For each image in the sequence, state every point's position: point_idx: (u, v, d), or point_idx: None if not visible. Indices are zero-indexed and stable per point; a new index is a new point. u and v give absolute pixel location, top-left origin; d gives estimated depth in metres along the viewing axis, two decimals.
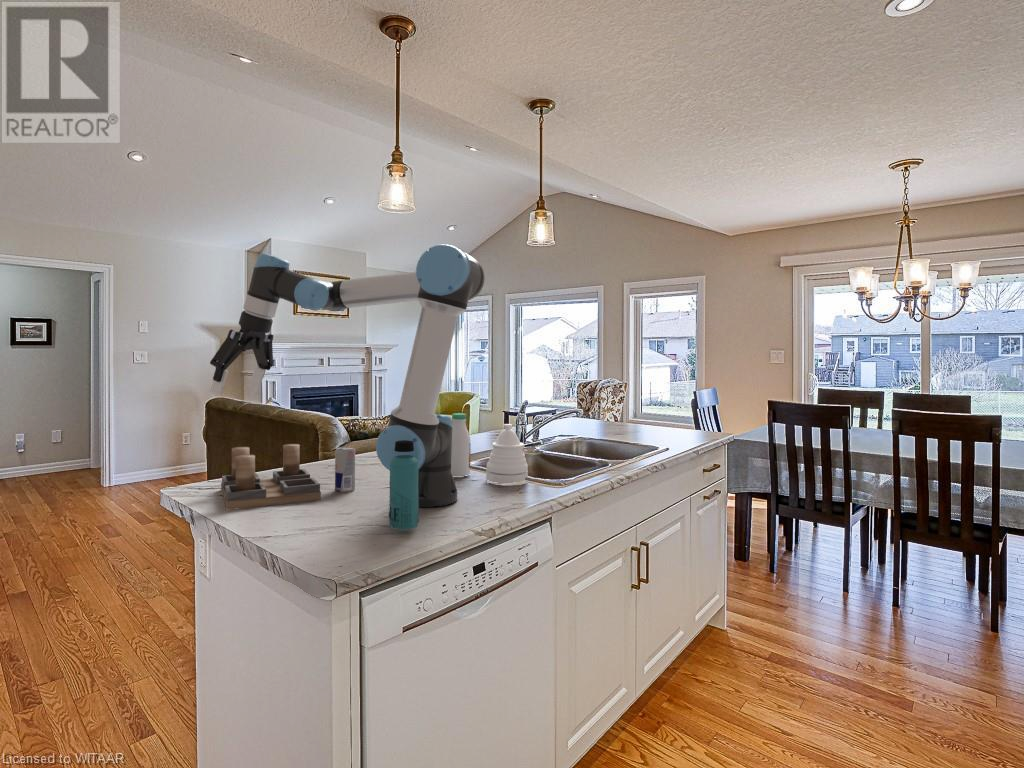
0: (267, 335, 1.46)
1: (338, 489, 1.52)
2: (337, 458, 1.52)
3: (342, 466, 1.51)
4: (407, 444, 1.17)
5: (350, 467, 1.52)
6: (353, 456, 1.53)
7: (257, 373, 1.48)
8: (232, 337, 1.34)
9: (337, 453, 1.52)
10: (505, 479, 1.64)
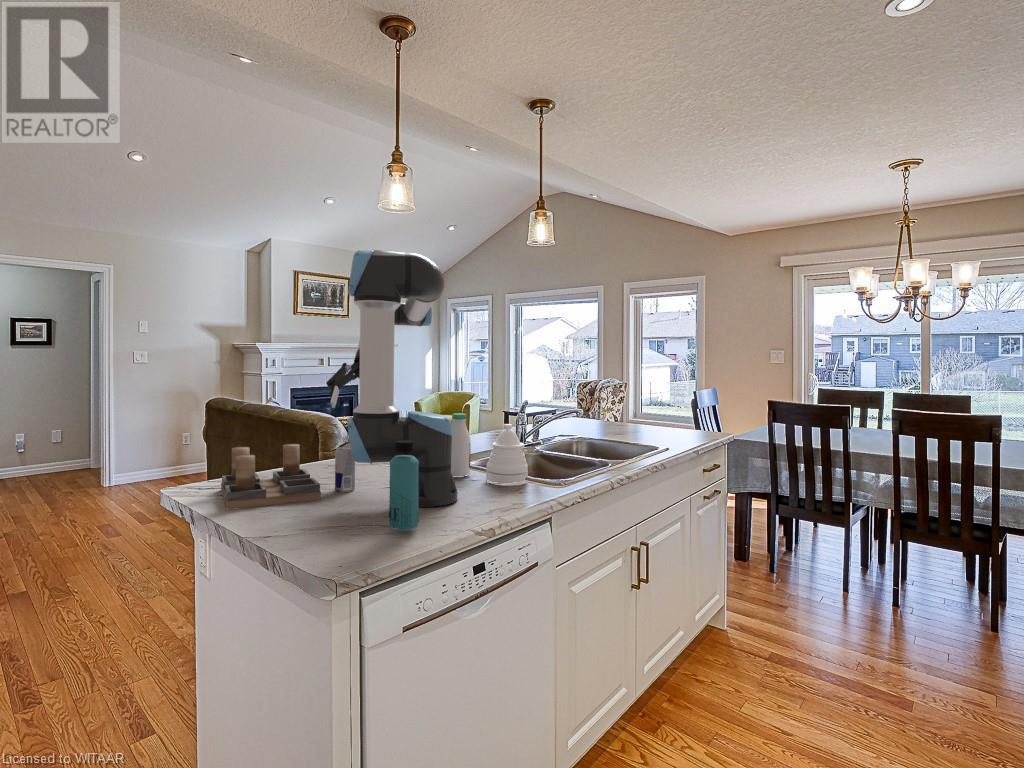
0: None
1: (338, 489, 1.52)
2: (337, 458, 1.52)
3: (342, 466, 1.51)
4: (407, 444, 1.17)
5: (350, 467, 1.52)
6: None
7: None
8: None
9: (337, 453, 1.52)
10: (505, 479, 1.64)
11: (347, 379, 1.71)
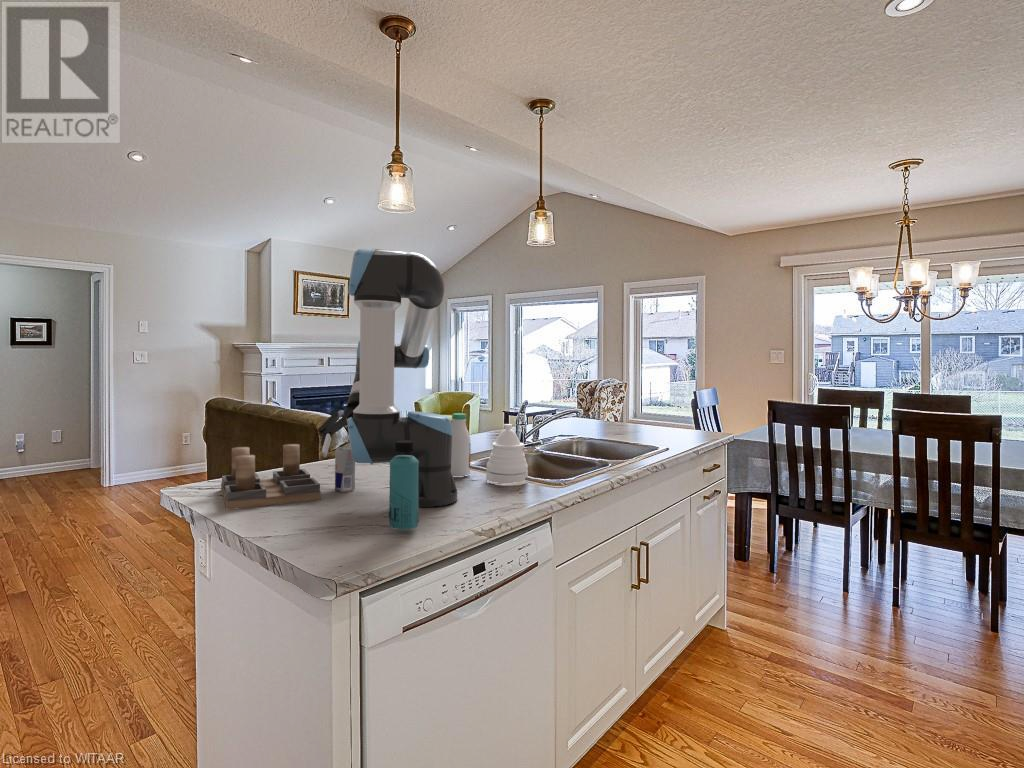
0: None
1: (338, 489, 1.52)
2: (337, 458, 1.52)
3: (342, 466, 1.51)
4: (407, 444, 1.17)
5: (350, 467, 1.52)
6: None
7: None
8: None
9: (337, 453, 1.52)
10: (505, 479, 1.64)
11: (339, 426, 1.64)
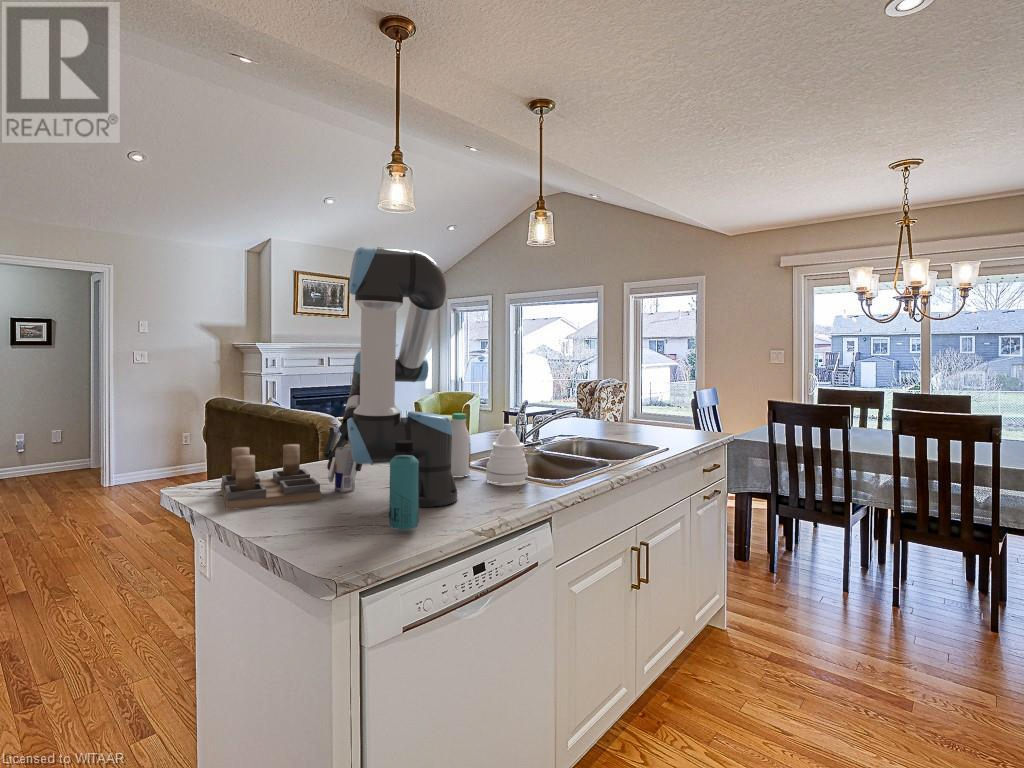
0: None
1: (338, 489, 1.52)
2: (337, 458, 1.52)
3: (342, 466, 1.51)
4: (407, 444, 1.17)
5: (350, 467, 1.52)
6: None
7: None
8: None
9: (337, 453, 1.52)
10: (505, 479, 1.64)
11: (341, 445, 1.58)
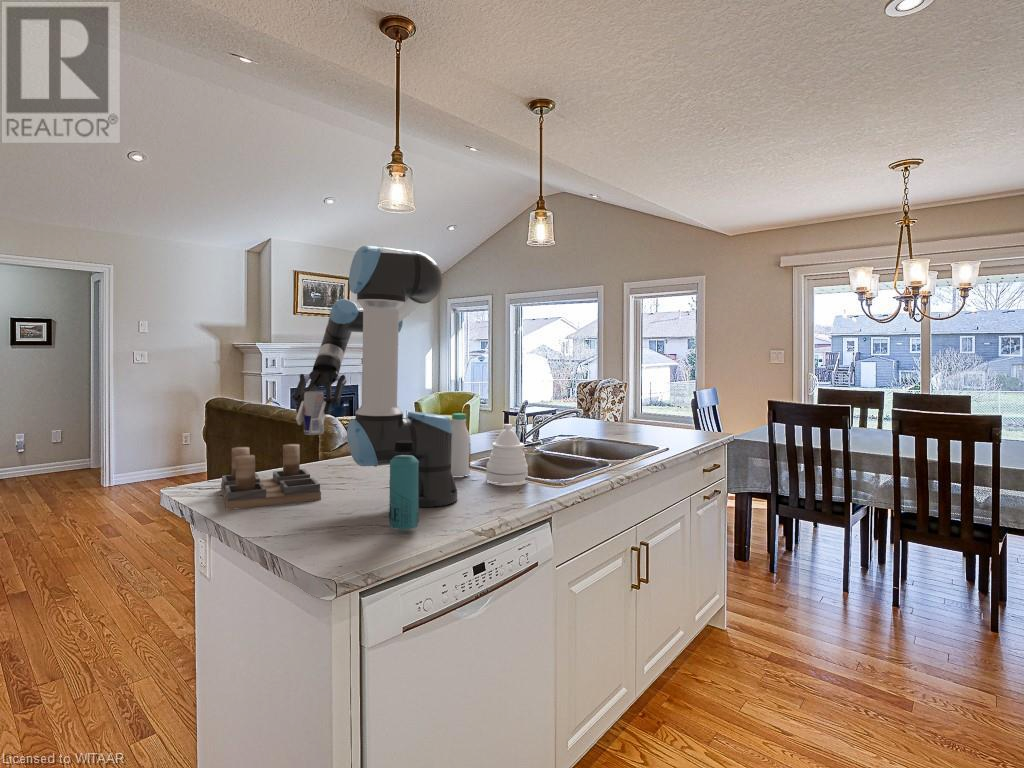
0: None
1: (306, 431, 1.54)
2: (305, 401, 1.54)
3: (310, 409, 1.54)
4: (407, 444, 1.17)
5: (319, 410, 1.55)
6: (321, 399, 1.55)
7: None
8: None
9: (305, 396, 1.54)
10: (505, 479, 1.64)
11: (311, 390, 1.60)
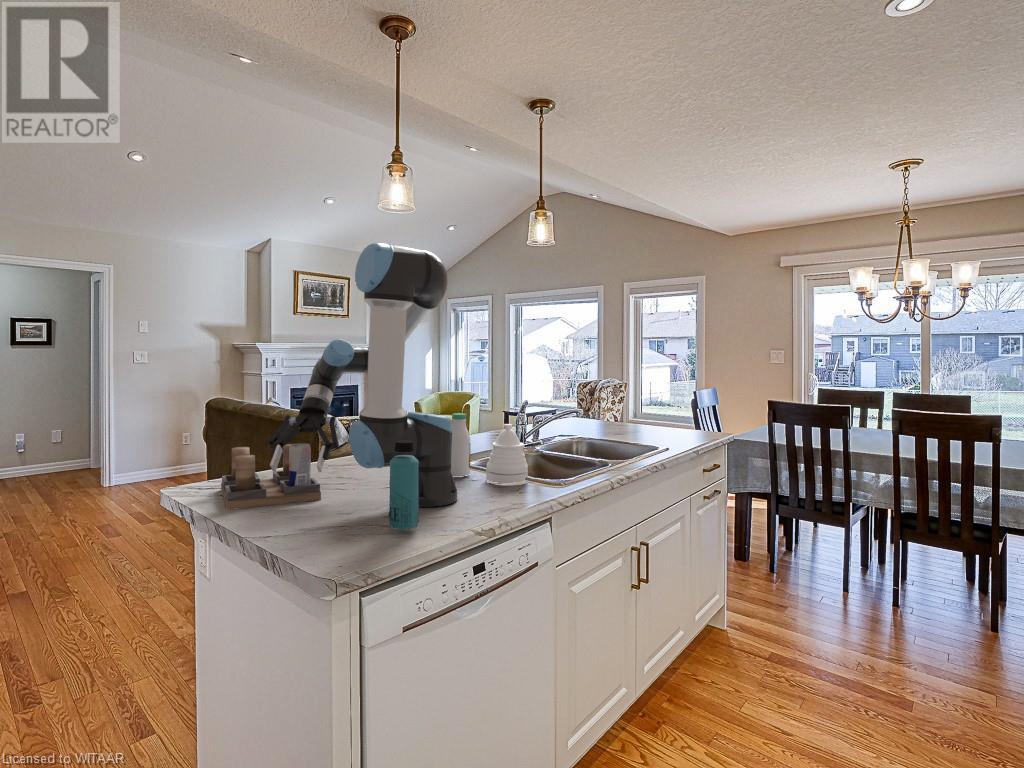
0: (330, 418, 1.53)
1: None
2: (291, 455, 1.43)
3: (295, 464, 1.43)
4: (407, 444, 1.17)
5: (305, 465, 1.44)
6: (308, 453, 1.45)
7: None
8: None
9: (291, 450, 1.43)
10: (505, 479, 1.64)
11: (291, 435, 1.49)
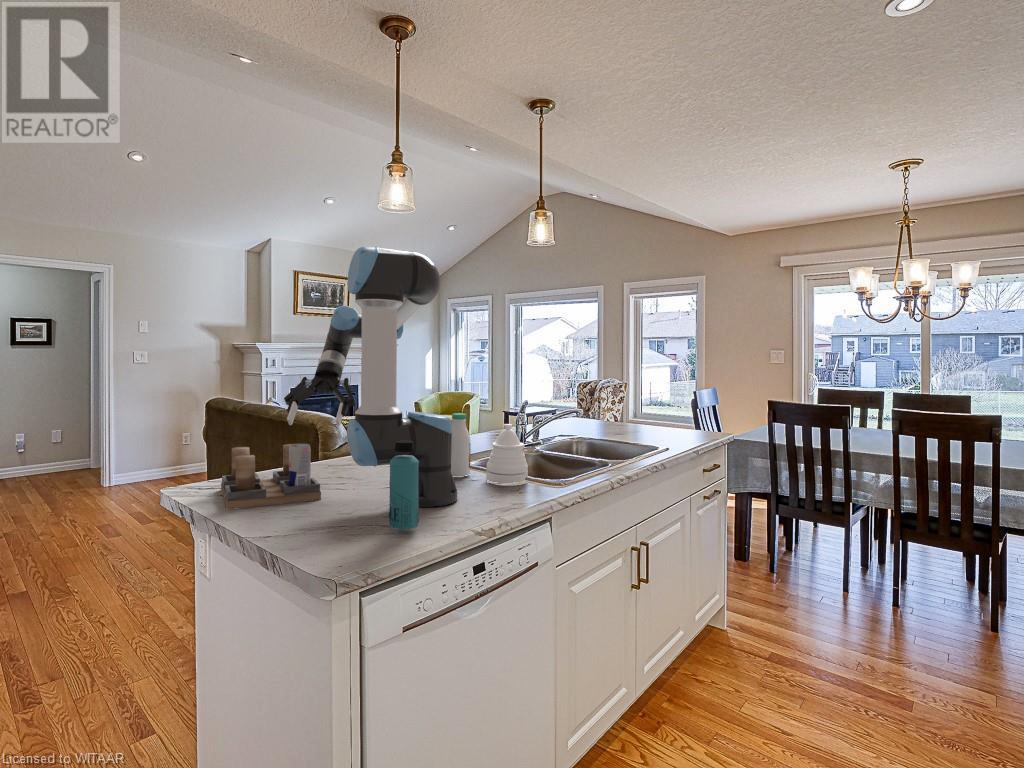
0: (343, 380, 1.66)
1: None
2: (290, 455, 1.43)
3: (295, 464, 1.43)
4: (407, 444, 1.17)
5: (305, 465, 1.44)
6: (308, 453, 1.44)
7: None
8: None
9: (290, 450, 1.43)
10: (505, 479, 1.64)
11: (306, 394, 1.62)
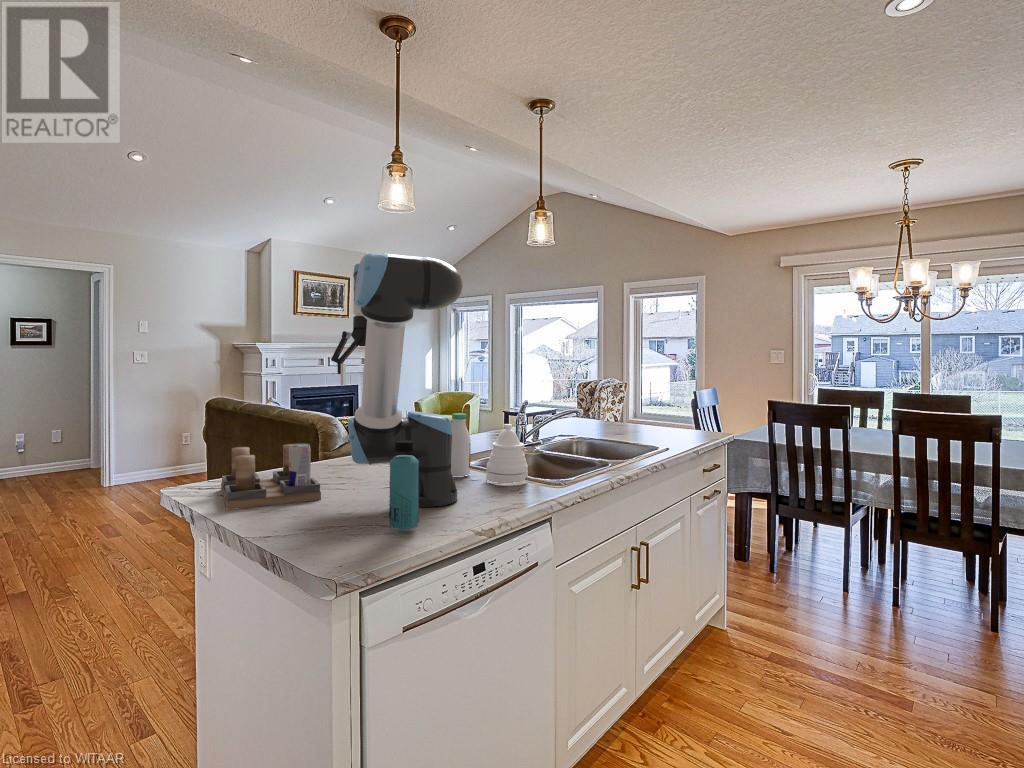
0: None
1: None
2: (290, 456, 1.43)
3: (295, 464, 1.43)
4: (407, 444, 1.17)
5: (305, 465, 1.44)
6: (308, 453, 1.44)
7: None
8: None
9: (290, 450, 1.43)
10: (505, 479, 1.64)
11: (351, 351, 1.67)
